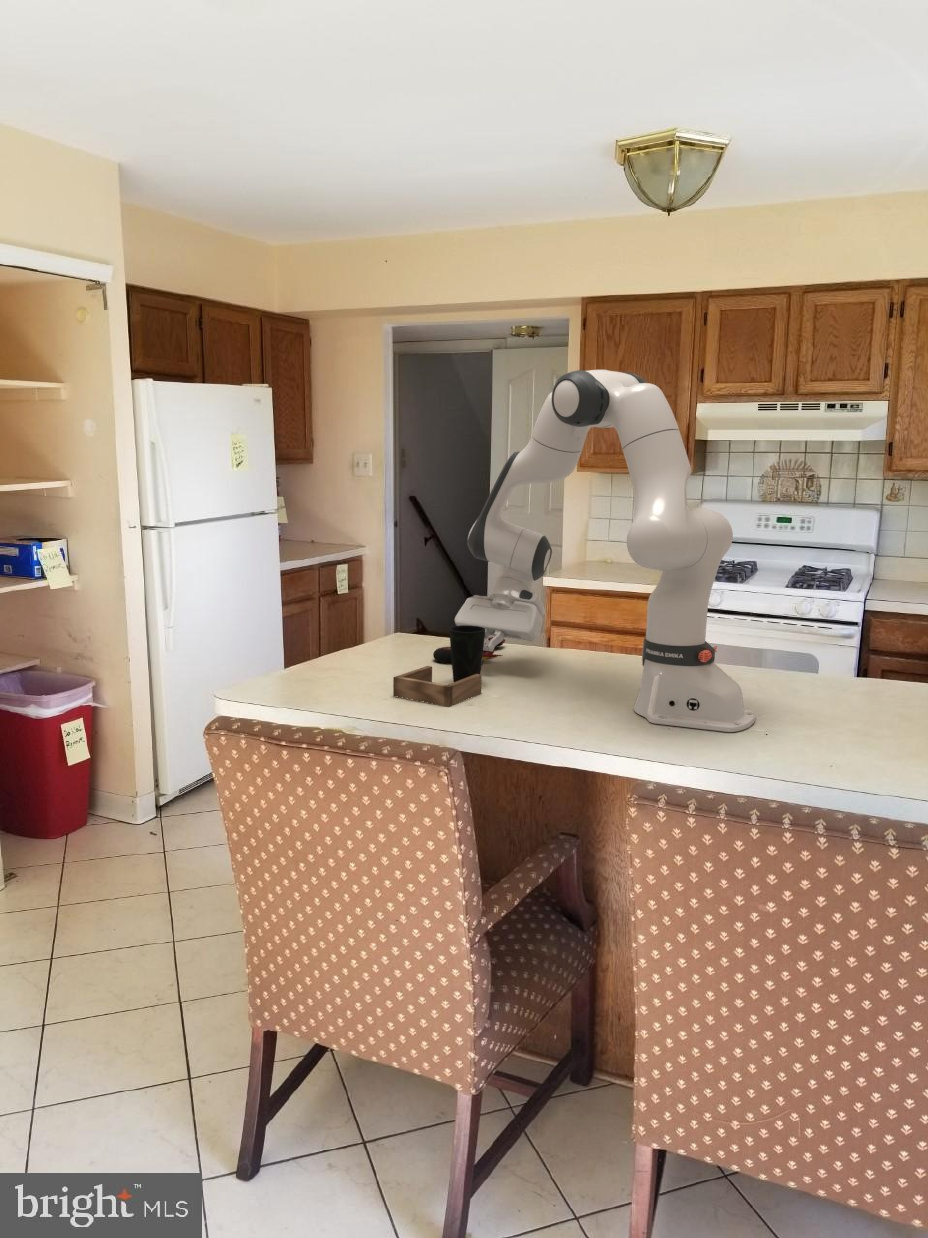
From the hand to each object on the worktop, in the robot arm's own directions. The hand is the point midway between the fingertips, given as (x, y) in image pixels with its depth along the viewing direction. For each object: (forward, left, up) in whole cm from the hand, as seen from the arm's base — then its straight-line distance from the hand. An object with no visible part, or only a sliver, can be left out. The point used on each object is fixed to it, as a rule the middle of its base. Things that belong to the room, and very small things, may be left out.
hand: (485, 649), depth 206 cm
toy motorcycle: (+13, -17, -7) cm, 23 cm away
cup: (0, +8, -6) cm, 10 cm away
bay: (0, +18, -6) cm, 19 cm away
